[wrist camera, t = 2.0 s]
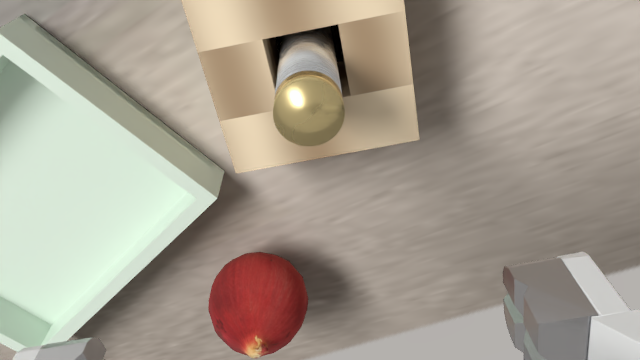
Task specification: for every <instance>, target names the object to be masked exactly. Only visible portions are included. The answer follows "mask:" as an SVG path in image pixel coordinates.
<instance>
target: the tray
mask: <svg viewBox="0 0 640 360" xmlns="http://www.w3.org/2000/svg"><path fill="white" fill-rule="evenodd" d="M223 175H224V170H222V169H221V168H220V167H219V166H217V165H216V164H215V163H214V162H212V161H211V160H210V159H208V158H207V157H206V156H205V155H203V154H202V153H201V152H200V151H198V150H197V149H196V148H194V147H193V146H192V145H191V144H189V143H188V142H187V141H185V140H184V139H183V138H182V137H180V136H179V135H178V134H177V133H175V132H174V131H173V130H171V129H170V128H169V127H168V126H166V125H165V124H164V123H163V122H161V121H160V120H159V119H157V118H156V117H155V116H154V115H152V114H151V113H150V112H149V111H147V110H146V109H145V108H143V107H142V106H141V105H140V104H138V103H137V102H136V101H135V100H133V99H132V98H131V97H129V96H128V95H127V94H126V93H124V92H123V91H122V90H121V89H119V88H118V87H117V86H115V85H114V84H113V83H112V82H110V81H109V80H108V79H106V78H105V77H104V76H103V75H101V74H100V73H99V72H98V71H96V70H95V69H94V68H92V67H91V66H90V65H89V64H87V63H86V62H85V61H84V60H82V59H81V58H80V57H78V56H77V55H76V54H75V53H73V52H72V51H71V50H70V49H68V48H67V47H66V46H64V45H63V44H62V43H61V42H59V41H58V40H57V39H56V38H54V37H53V36H52V35H50V34H49V33H48V32H47V31H45V30H44V29H43V28H42V27H40V26H39V25H38V24H36V23H35V22H34V21H33V20H31V19H30V18H29V17H27V16H26V15H25V14H23V15H22V16H20V17H18V18H16V19H14V20H13V21H11V22H9V23H7V24H5V25H4V26H2V27H0V343H1V344H3V345H5V346H7V347H9V348H11V349H13V350H15V351H17V352H19V351H20V350H21V349H23V348H27V347H34V346H41V345H46V344H51V343H57V342H64V341H67V340H68V339H69V338H70V337H71V336H72V335H73V334H74V333H75V332H76V331H78V330H79V329H80V328H81V327H82V326H83V325H84V324H85V323H86V322H87V321H88V320H89V319H90V318H91V317H92V316H93V315H95V314H96V313H97V312H98V311H99V310H100V309H101V308H102V307H103V306H104V305H105V304H106V303H107V302H108V301H109V300H110V299H111V298H113V297H114V296H115V295H116V294H117V293H118V292H119V291H120V290H121V289H122V288H123V287H124V286H125V285H126V284H127V283H128V282H129V281H131V280H132V279H133V278H134V277H135V276H136V275H137V274H138V273H139V272H140V271H141V270H142V269H143V268H144V267H145V266H146V265H147V264H149V263H150V262H151V261H152V260H153V259H154V258H155V257H156V256H157V255H158V254H159V253H160V252H161V251H162V250H163V249H164V248H165V247H167V246H168V245H169V244H170V243H171V242H172V241H173V240H174V239H175V238H176V237H177V236H178V235H179V234H180V233H181V232H182V231H183V230H185V229H186V228H187V227H188V226H189V225H190V224H191V223H192V222H193V221H194V220H195V219H196V218H197V217H198V216H199V215H200V214H202V213H203V212H204V211H205V210H206V209H207V208H208V207H209V206H210V205H211V204H212V203H213V202H214V201H215V200H216V199H217V198H218V195H219V191H220V187H221V183H222V179H223Z"/></svg>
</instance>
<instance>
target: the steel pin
mask: <svg viewBox="0 0 640 360" xmlns="http://www.w3.org/2000/svg"><path fill="white" fill-rule="evenodd" d="M344 117H345V109H344V103H343V97H342V91H341V85H340V78H339V72H338V66H337V60H336V54H335V48H334V42H333V36H332V30H331V27H330V26H327V27H322V28H317V29H312V30H307V31H302V32H297V33H292V34H287V35H282V39H281V48H280V56H279V64H278V73H277V81H276V89H275V98H274V106H273V119H274V123H275V126H276V128H277V130H278V131H279V133H280V134H281V135H282V136H283V137H284V138H285V139H287V140H288V141H290V142H292V143H294V144H297V145H300V146H317V145H321V144H324V143H326V142H328V141H329V140H331V139H332V138H333V137H334V136H336V134H337V133H338V132H339V130H340V129H341V127H342V125H343V122H344Z"/></svg>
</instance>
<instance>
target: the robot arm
mask: <svg viewBox="0 0 640 360" xmlns="http://www.w3.org/2000/svg"><path fill="white" fill-rule="evenodd" d="M503 283H504V285H505V287H506V289H507V291H508V294H507V296H506V297H505V298H504V299H503V300H504V314H505V319H506V324H507V327H508V330H509V334H510V337H511V339H512V341H513V343H514V345H515V348H517V349H518V350H520V351H522V352H523V353H524V360H640V309H637V310H631V309H630V308H629V307H628V306H627V304H626V303H625V302H624V300H623V299H622V298H621V297H620V295H619V294H618V292H617V291H616V290H615V289H614V287H613V286H612V285H611V284H610V282H609V281H608V279H607V278H606V277H605V275H604V274H603V273H602V272H601V270H600V269H599V268H598V266H597V265H596V264H595V262H594V261H593V260H592V258H591V257H590V256H589V255H588V254H587V253H585V252H578V253H573V254H567V255H562V256H557V257H556V258H555V257H553V258H548V259H542V260H537V261H531V262H526V263H520V264H515V265H509V266H504V270H503ZM105 352H106V348H105V347H104V345H103V343H102V342H101V340H100V339H99V338H94V337H91V338H85V339H78V340H71V341H64V342H57V343H51V344H46V345H41V346H34V347H27V348H23V349H21V350H20V351H19V352H17V353H16V354H15V356H14V358H13V360H105V359H103V358H104V355H105Z"/></svg>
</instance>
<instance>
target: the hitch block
mask: <svg viewBox="0 0 640 360" xmlns="http://www.w3.org/2000/svg"><path fill="white" fill-rule="evenodd" d="M181 1H182V4H183V7H184V10H185V14H186V17H187V20H188V23H189V26H190V29H191V33H192V36H193V39H194V42H195V45H196V48H197V52H198V55H199V58H200V61H201V64H202V67H203V71H204V74H205V77H206V80H207V83H208V86H209V90H210V93H211V96H212V99H213V102H214V106H215V109H216V112H217V115H218V118H219V121H220V125H221V128H222V131H223V134H224V137H225V140H226V144H227V147H228V150H229V153H230V156H231V159H232V163H233V166H234V169H235V172H236V174H237V173H242V172H248V171H253V170H259V169H264V168H269V167H275V166H280V165H286V164H291V163H297V162H302V161H308V160H313V159H319V158H324V157H329V156H335V155H340V154H346V153H351V152H357V151H362V150H368V149H373V148H379V147H384V146H389V145H395V144H400V143H406V142H411V141H417V140H420V139H419V130H418V121H417V112H416V103H415V94H414V85H413V76H412V67H411V59H410V50H409V41H408V32H407V23H406V14H405V5H404V0H181ZM332 25H338V31H339V36H340V42H341V48H342V53H343V59H344V61H340V62H337V66H338V72H339V78H340V85H341V91H342V97H343V103H344V109H345V117H344V122H343V125H342V127H341V129H340V130H339V132H338V133H337V134H336V136H334V137H333V138H332V139H331V140H329V141H328V142H326V143H324V144H321V145H317V146H300V145H297V144H294V143H292V142H290V141H288V140H287V139H285V138H284V137H283V136H282V135H281V134H280V133H279V131H278V130H277V128H276V126H275V123H274V119H273V106H274V98H275V89H276V81H277V73H278V64H279V53H278V49H277V44H276V40H275V37H277V36H282V35H287V34H292V33H297V32H302V31H307V30H312V29H317V28H322V27H327V26H332Z"/></svg>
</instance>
